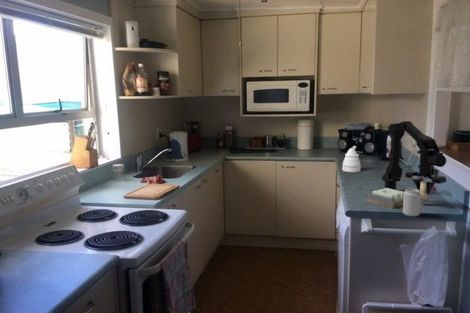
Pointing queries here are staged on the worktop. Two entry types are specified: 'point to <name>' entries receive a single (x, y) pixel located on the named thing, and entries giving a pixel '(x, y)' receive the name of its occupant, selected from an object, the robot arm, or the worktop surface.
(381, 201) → the board
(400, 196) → the block
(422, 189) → the dowel
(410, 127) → the robot arm
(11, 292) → the worktop surface
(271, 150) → the worktop surface
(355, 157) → the honey pot
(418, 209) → the can
